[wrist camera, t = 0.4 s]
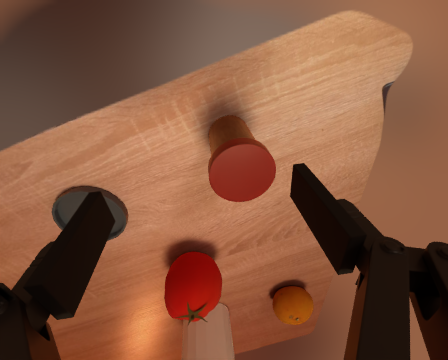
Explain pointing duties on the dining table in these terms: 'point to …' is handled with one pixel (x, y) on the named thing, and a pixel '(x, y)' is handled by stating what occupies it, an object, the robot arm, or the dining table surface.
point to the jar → (227, 131)
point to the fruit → (292, 305)
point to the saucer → (73, 200)
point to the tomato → (192, 287)
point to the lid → (241, 169)
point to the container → (209, 337)
